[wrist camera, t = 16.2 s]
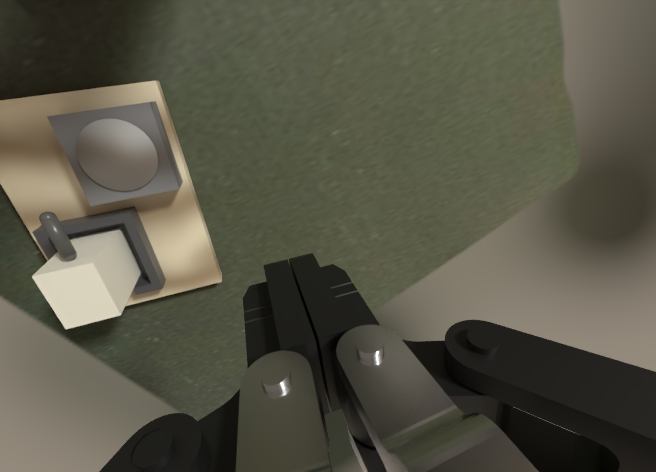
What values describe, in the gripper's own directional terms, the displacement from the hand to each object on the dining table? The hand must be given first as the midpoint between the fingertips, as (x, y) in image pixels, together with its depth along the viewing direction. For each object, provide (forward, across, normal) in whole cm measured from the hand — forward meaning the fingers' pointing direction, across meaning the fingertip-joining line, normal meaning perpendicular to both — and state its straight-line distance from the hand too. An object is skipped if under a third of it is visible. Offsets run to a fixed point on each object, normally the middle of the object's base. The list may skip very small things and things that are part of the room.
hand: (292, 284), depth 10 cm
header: (+24, +15, +7) cm, 29 cm away
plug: (+23, +15, +5) cm, 28 cm away
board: (+25, +13, +3) cm, 28 cm away
